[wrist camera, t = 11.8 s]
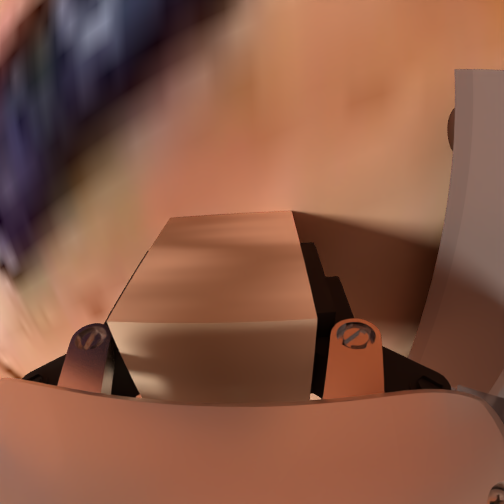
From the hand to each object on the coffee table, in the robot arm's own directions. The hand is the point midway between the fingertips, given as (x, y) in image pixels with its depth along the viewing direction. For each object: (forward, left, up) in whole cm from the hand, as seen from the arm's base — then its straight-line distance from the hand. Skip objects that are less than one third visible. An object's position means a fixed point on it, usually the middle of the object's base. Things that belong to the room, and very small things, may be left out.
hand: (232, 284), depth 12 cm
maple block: (0, 0, -1) cm, 1 cm away
